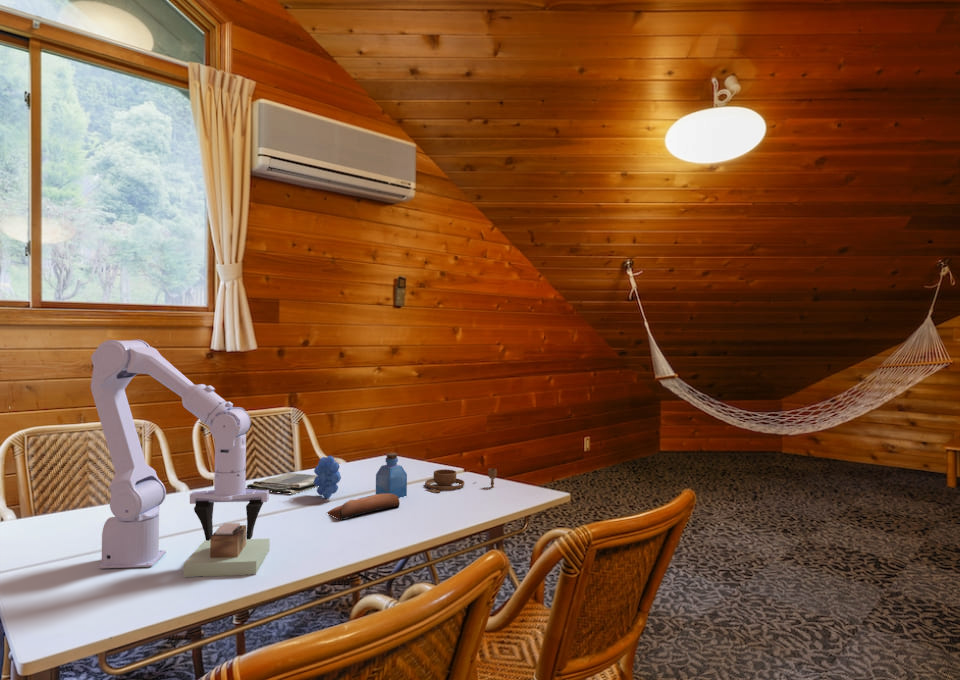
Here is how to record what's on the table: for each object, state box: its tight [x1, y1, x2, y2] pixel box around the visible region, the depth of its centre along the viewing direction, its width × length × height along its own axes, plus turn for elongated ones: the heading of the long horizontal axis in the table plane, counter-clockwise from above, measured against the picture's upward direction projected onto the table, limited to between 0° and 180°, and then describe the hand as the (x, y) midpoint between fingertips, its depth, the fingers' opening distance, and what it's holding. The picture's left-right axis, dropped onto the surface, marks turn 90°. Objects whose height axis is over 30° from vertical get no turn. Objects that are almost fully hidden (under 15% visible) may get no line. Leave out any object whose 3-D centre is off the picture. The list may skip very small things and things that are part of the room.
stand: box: [183, 538, 271, 578], centre depth 122 cm, size 13×13×2 cm
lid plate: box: [214, 522, 241, 536], centre depth 121 cm, size 3×5×2 cm, turn 6°
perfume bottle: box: [375, 452, 408, 499], centre depth 174 cm, size 6×6×12 cm
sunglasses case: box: [326, 494, 401, 521], centre depth 159 cm, size 18×7×7 cm
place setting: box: [424, 468, 498, 494], centre depth 185 cm, size 18×20×6 cm
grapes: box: [313, 455, 342, 499], centre depth 171 cm, size 12×7×12 cm, turn 46°
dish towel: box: [246, 472, 318, 496], centre depth 184 cm, size 19×18×3 cm
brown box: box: [210, 524, 247, 558], centre depth 121 cm, size 5×7×4 cm
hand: (229, 538), depth 122 cm, fingers open, 7 cm apart
